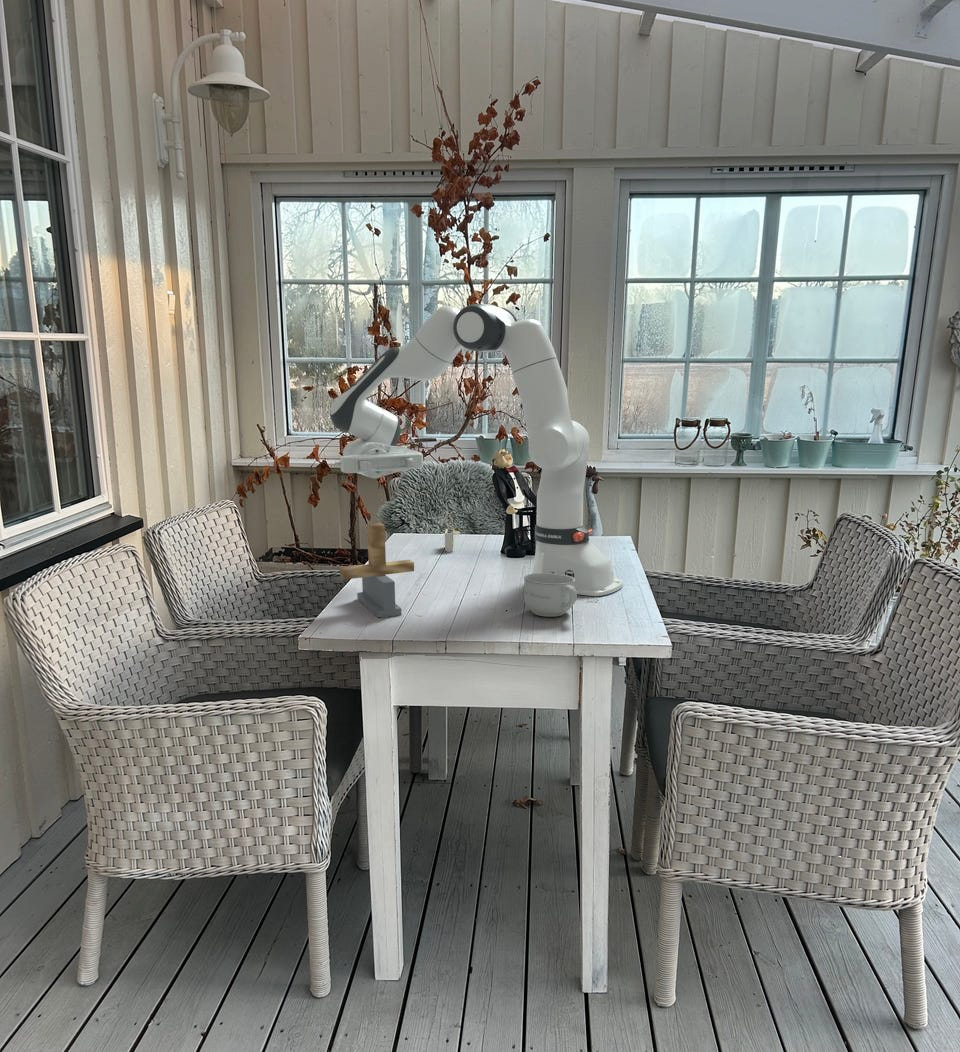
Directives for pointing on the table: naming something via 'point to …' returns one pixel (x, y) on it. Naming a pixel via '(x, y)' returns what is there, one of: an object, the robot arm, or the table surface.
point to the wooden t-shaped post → (376, 558)
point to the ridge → (379, 595)
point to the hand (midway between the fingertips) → (391, 465)
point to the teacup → (549, 593)
